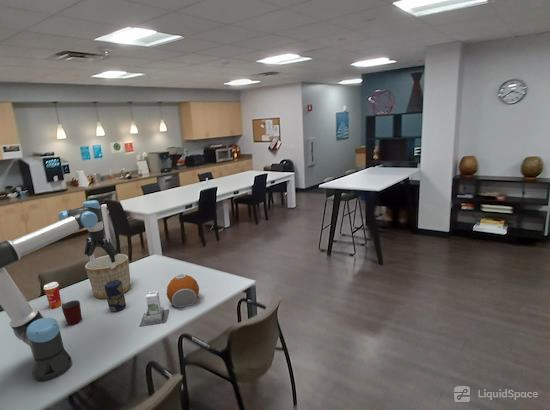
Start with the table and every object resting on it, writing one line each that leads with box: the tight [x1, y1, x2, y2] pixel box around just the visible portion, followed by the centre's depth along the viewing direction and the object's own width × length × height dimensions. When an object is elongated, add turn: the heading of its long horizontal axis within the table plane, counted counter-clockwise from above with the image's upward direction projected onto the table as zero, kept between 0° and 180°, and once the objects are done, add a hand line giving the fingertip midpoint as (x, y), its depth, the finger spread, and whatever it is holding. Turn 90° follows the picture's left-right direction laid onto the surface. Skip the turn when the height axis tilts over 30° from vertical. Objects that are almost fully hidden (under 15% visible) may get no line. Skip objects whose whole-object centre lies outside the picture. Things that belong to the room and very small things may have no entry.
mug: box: [61, 300, 83, 326], centre depth 199 cm, size 12×9×11 cm
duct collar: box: [139, 306, 170, 328], centre depth 195 cm, size 14×14×4 cm
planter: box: [84, 253, 131, 299], centre depth 232 cm, size 26×26×22 cm
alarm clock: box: [166, 273, 200, 308], centre depth 210 cm, size 19×18×17 cm
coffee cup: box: [43, 281, 62, 310], centre depth 218 cm, size 8×8×15 cm
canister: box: [104, 280, 127, 312], centre depth 208 cm, size 10×10×18 cm
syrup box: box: [145, 290, 162, 316], centre depth 194 cm, size 6×6×14 cm
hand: (103, 267), depth 188 cm, fingers open, 13 cm apart
